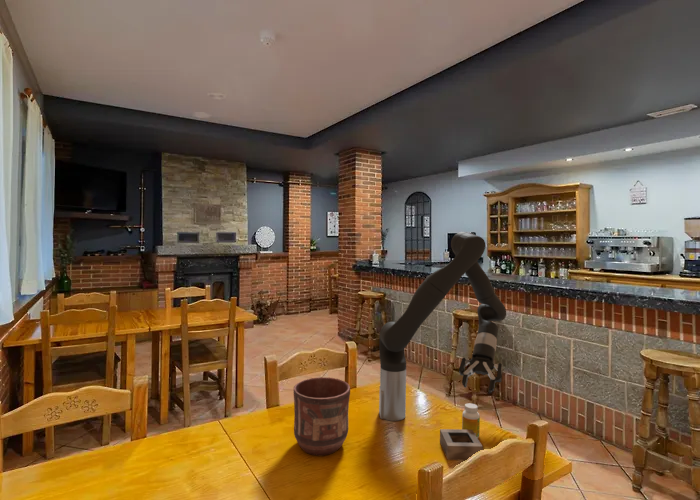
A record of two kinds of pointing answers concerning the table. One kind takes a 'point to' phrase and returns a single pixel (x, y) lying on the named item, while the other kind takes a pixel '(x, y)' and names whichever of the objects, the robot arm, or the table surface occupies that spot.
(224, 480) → the table surface
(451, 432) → the collar block
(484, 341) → the robot arm
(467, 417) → the supplement bottle
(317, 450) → the pottery
